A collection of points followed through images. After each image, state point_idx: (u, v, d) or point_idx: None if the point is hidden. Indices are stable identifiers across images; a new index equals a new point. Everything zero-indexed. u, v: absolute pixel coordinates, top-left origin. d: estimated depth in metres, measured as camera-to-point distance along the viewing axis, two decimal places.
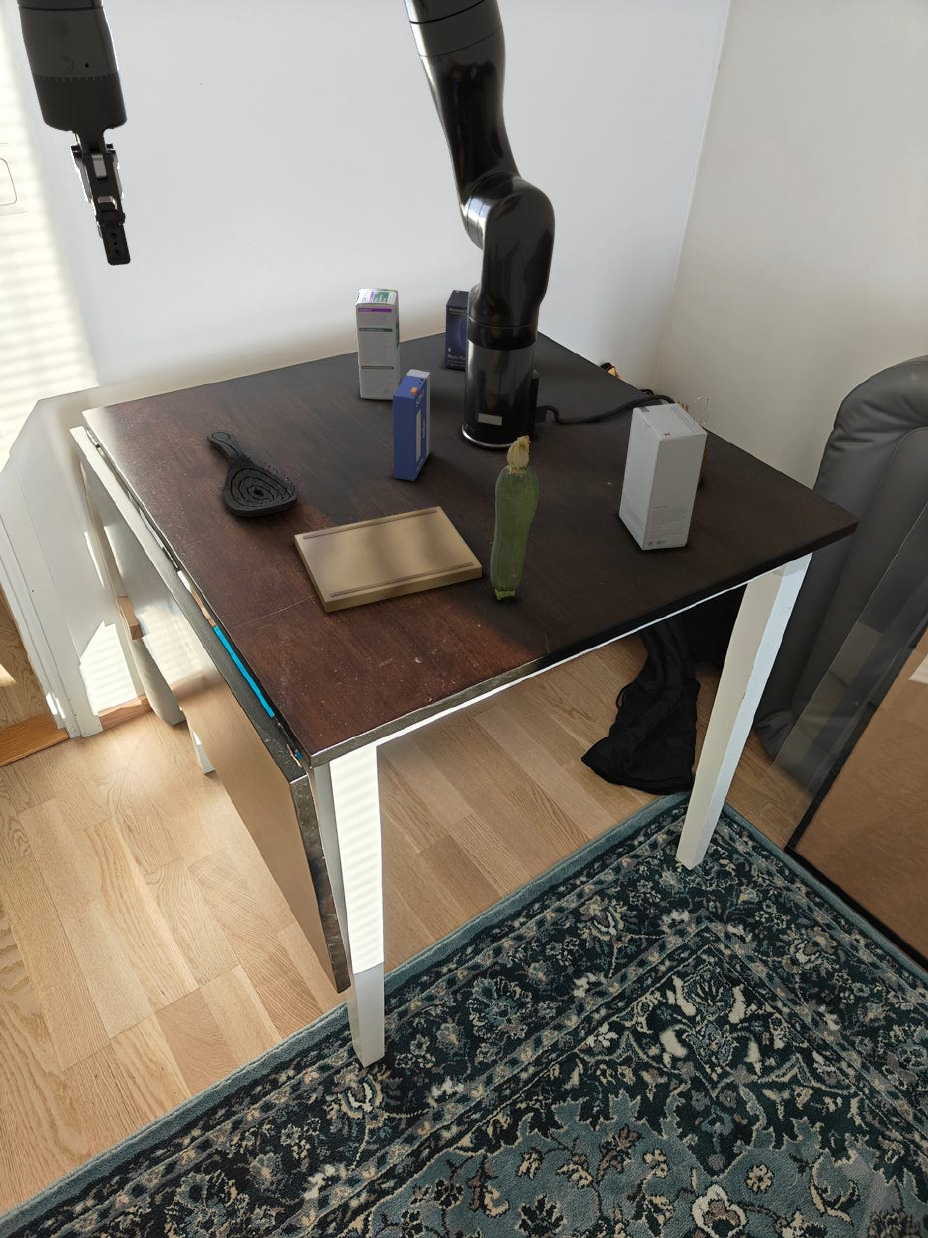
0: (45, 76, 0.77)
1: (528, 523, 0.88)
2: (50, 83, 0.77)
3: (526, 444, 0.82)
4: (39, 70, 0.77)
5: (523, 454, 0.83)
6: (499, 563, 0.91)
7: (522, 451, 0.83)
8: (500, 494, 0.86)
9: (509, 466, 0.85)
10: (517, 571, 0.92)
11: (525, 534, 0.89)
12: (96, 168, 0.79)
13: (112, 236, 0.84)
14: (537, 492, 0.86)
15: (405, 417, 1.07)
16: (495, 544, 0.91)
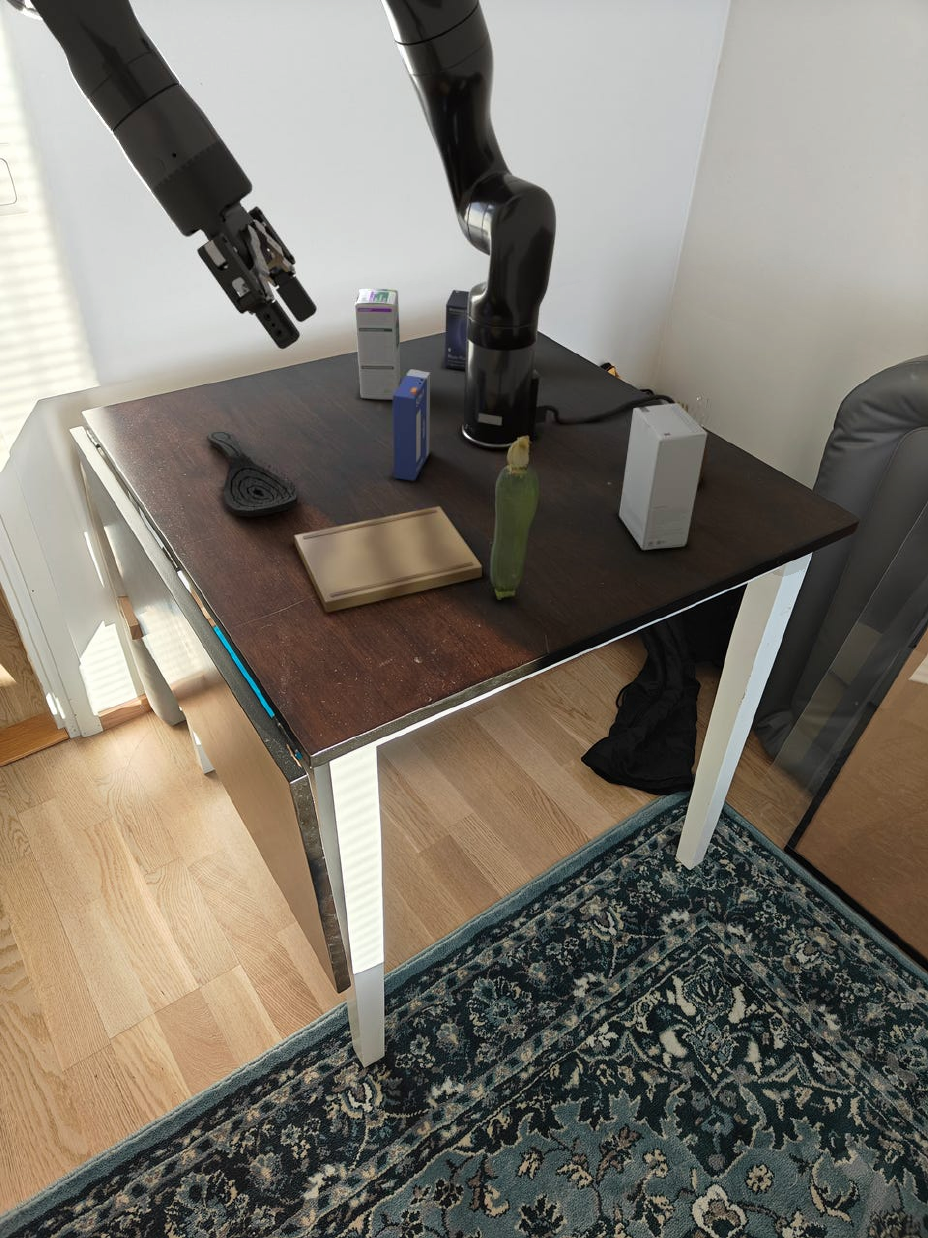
0: (153, 189, 0.72)
1: (528, 523, 0.88)
2: (158, 193, 0.72)
3: (526, 444, 0.82)
4: (148, 186, 0.72)
5: (523, 454, 0.83)
6: (499, 563, 0.91)
7: (522, 451, 0.83)
8: (501, 494, 0.86)
9: (509, 466, 0.85)
10: (517, 571, 0.92)
11: (525, 534, 0.89)
12: (212, 257, 0.71)
13: (268, 319, 0.75)
14: (537, 492, 0.86)
15: (405, 417, 1.07)
16: (495, 544, 0.91)
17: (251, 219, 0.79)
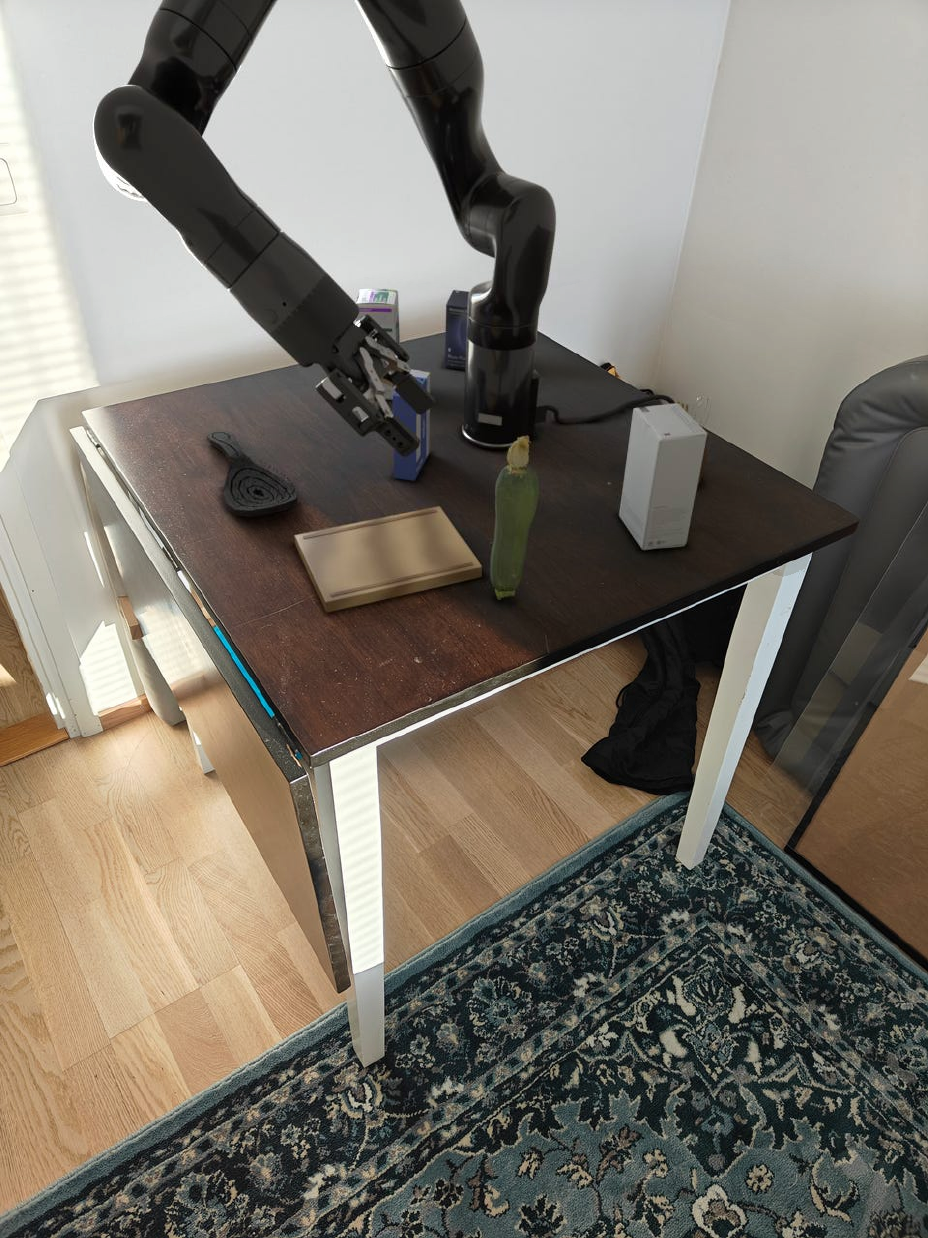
0: (270, 333, 0.77)
1: (528, 523, 0.88)
2: (275, 337, 0.77)
3: (526, 444, 0.82)
4: None
5: (523, 454, 0.83)
6: (499, 563, 0.91)
7: (522, 451, 0.83)
8: (500, 494, 0.86)
9: (509, 466, 0.85)
10: (517, 571, 0.92)
11: (525, 534, 0.89)
12: (330, 392, 0.75)
13: (388, 434, 0.79)
14: (537, 492, 0.86)
15: (405, 417, 1.07)
16: (495, 544, 0.91)
17: (362, 333, 0.82)
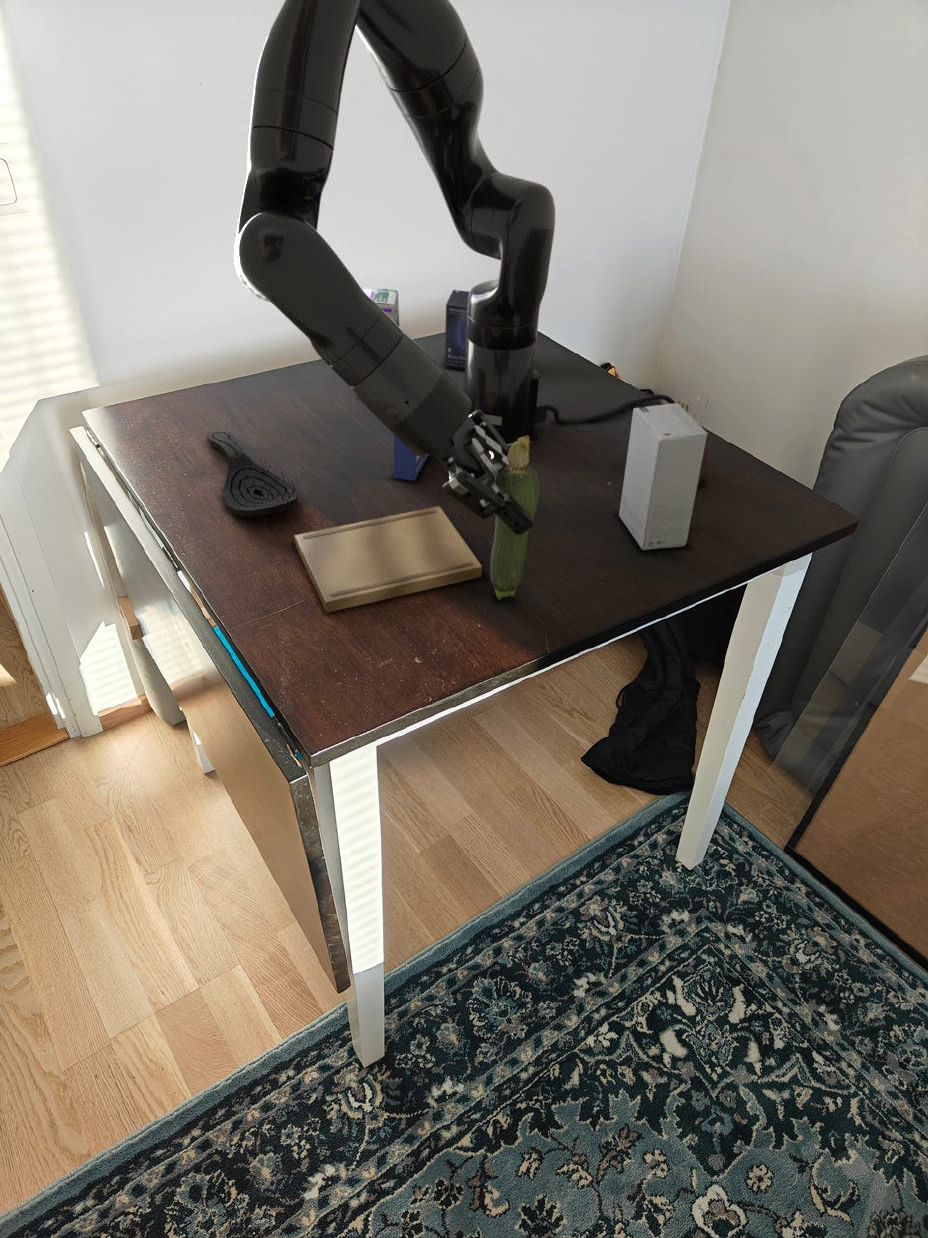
0: (389, 427, 0.81)
1: None
2: (394, 430, 0.81)
3: (526, 444, 0.82)
4: (384, 424, 0.82)
5: (523, 454, 0.83)
6: (499, 563, 0.91)
7: (522, 451, 0.83)
8: None
9: (509, 466, 0.85)
10: (517, 571, 0.92)
11: (525, 534, 0.89)
12: (459, 492, 0.80)
13: (506, 515, 0.85)
14: (537, 492, 0.86)
15: None
16: (495, 544, 0.91)
17: (470, 421, 0.86)
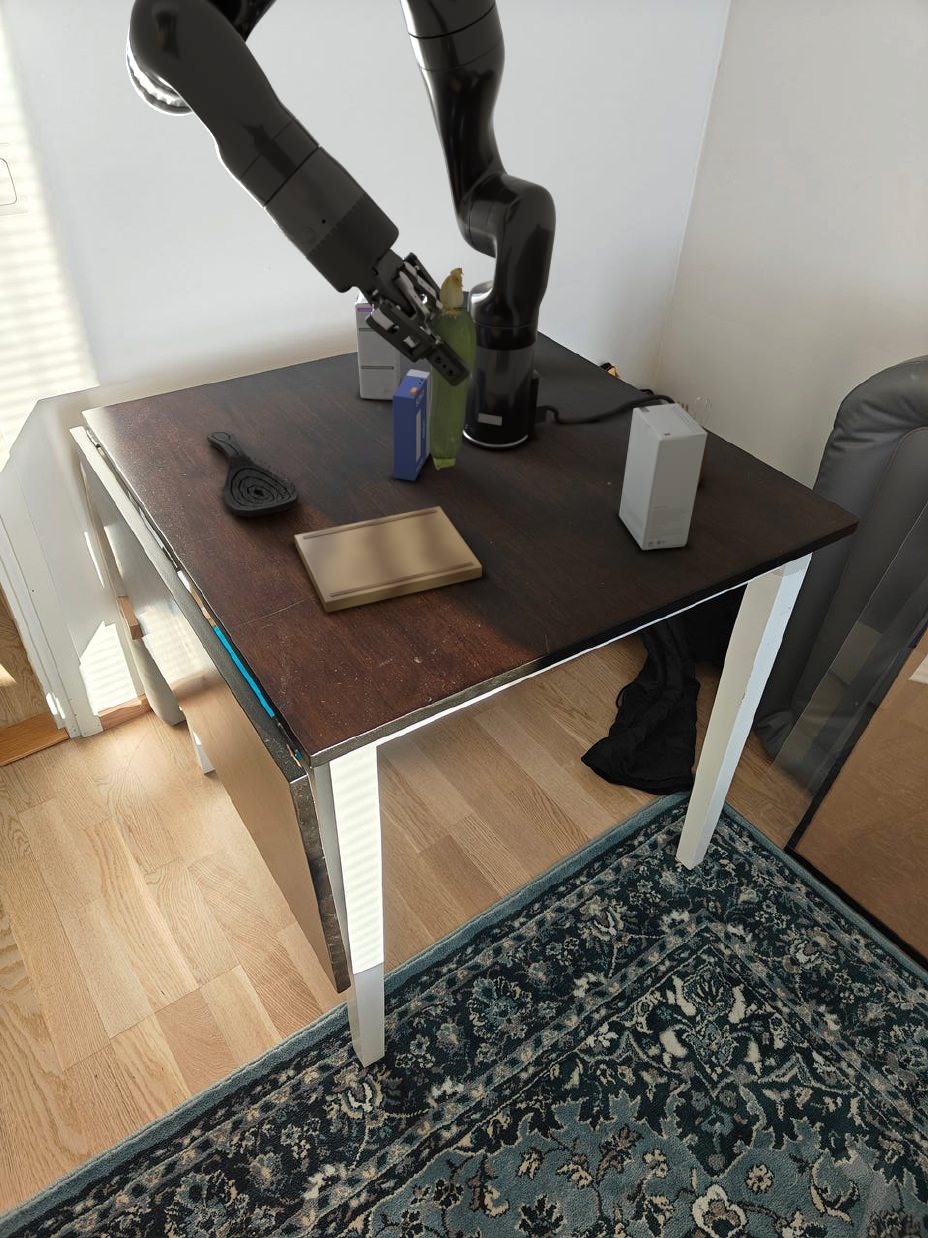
0: (307, 255, 0.74)
1: None
2: (312, 259, 0.74)
3: (459, 276, 0.74)
4: (302, 253, 0.74)
5: (457, 290, 0.76)
6: (435, 425, 0.84)
7: (455, 287, 0.76)
8: None
9: (443, 307, 0.78)
10: (455, 435, 0.84)
11: (463, 390, 0.82)
12: (383, 325, 0.73)
13: (439, 361, 0.78)
14: (474, 338, 0.79)
15: (405, 417, 1.07)
16: (431, 403, 0.84)
17: (400, 260, 0.79)
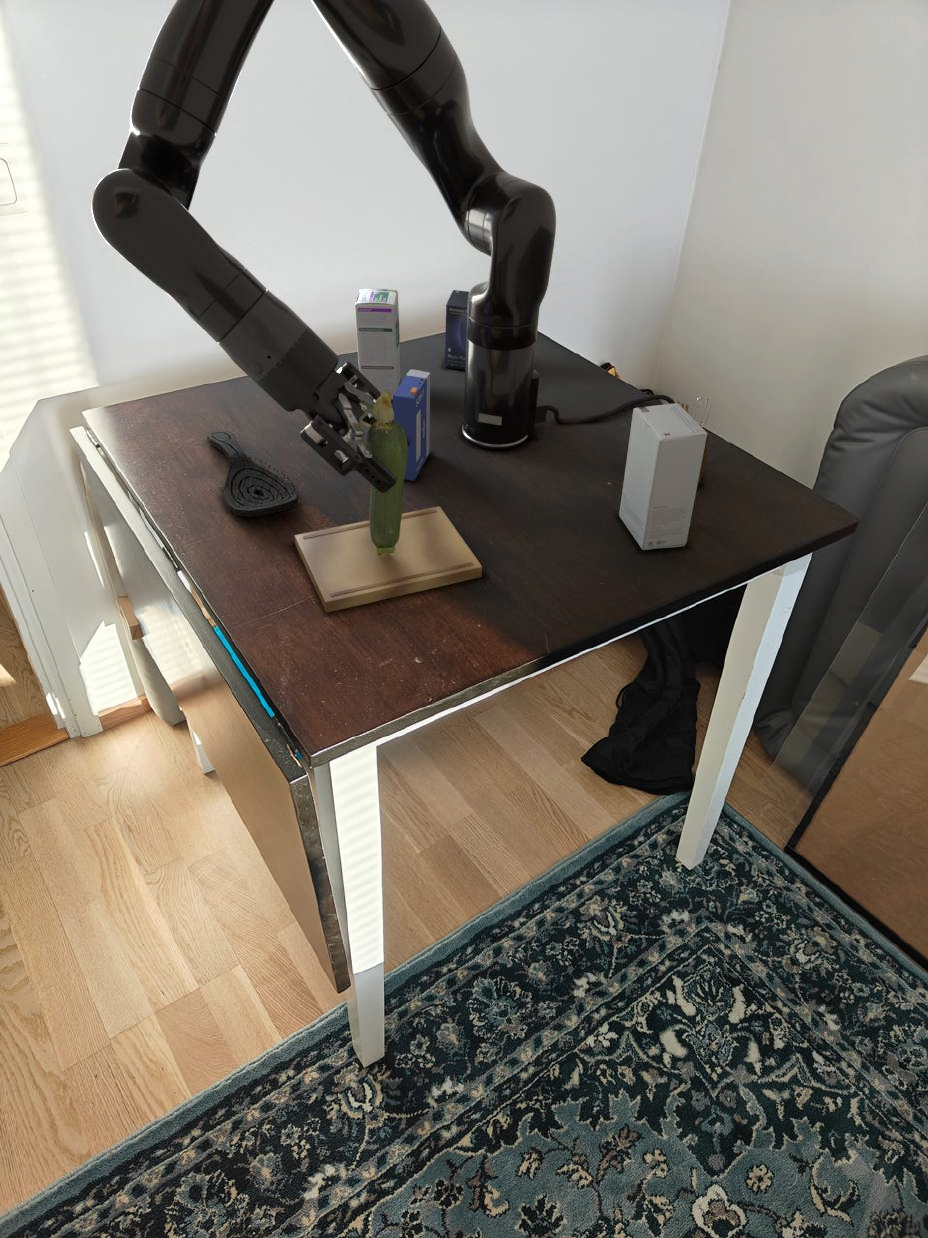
0: (256, 382, 0.84)
1: (399, 479, 0.91)
2: (261, 385, 0.84)
3: (387, 399, 0.84)
4: (252, 379, 0.84)
5: (387, 409, 0.86)
6: (375, 519, 0.94)
7: (385, 406, 0.86)
8: (369, 450, 0.88)
9: (376, 422, 0.88)
10: (393, 528, 0.95)
11: (398, 490, 0.92)
12: (313, 438, 0.82)
13: (367, 472, 0.86)
14: (405, 448, 0.89)
15: (405, 417, 1.07)
16: (371, 501, 0.94)
17: (342, 379, 0.89)
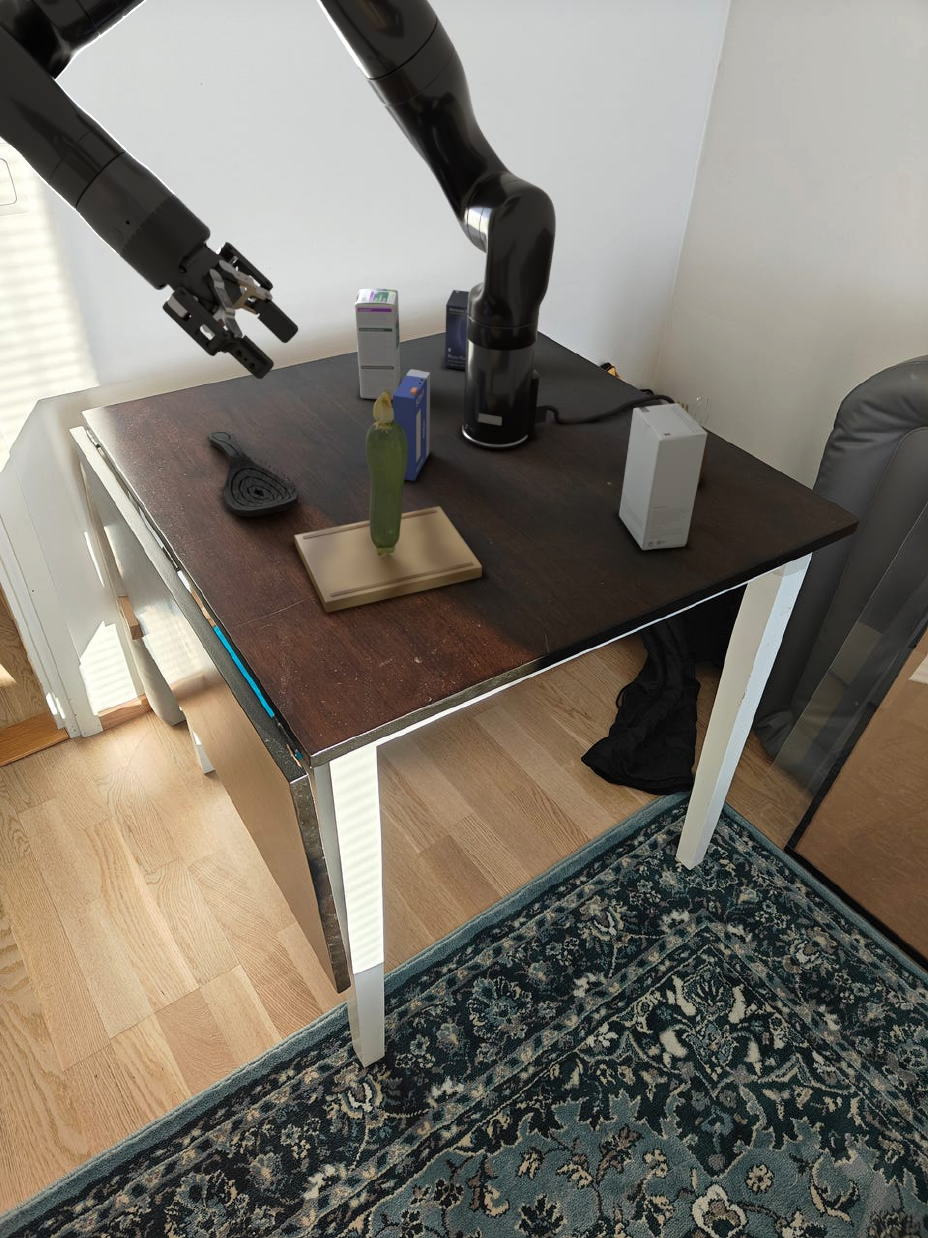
0: (120, 254, 0.78)
1: (399, 479, 0.91)
2: (124, 258, 0.78)
3: (387, 399, 0.84)
4: (116, 252, 0.79)
5: (387, 409, 0.86)
6: (375, 519, 0.94)
7: (385, 406, 0.86)
8: (369, 450, 0.88)
9: (376, 422, 0.88)
10: (393, 528, 0.95)
11: (398, 490, 0.92)
12: (176, 310, 0.77)
13: (240, 354, 0.80)
14: (405, 448, 0.89)
15: (405, 417, 1.07)
16: (371, 501, 0.94)
17: (219, 258, 0.83)
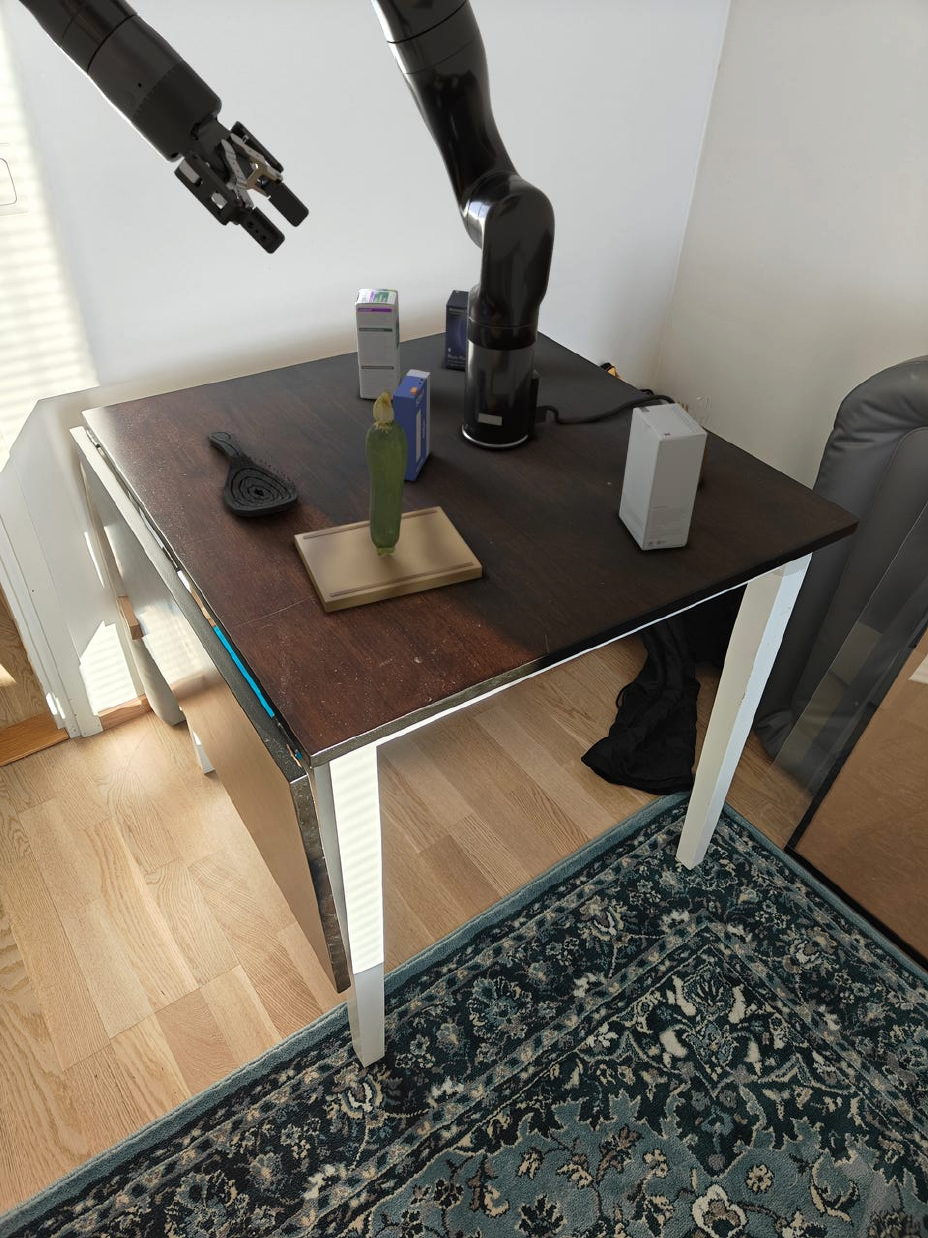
0: (131, 122, 0.78)
1: (399, 479, 0.91)
2: (136, 125, 0.78)
3: (387, 399, 0.84)
4: (127, 120, 0.79)
5: (387, 409, 0.86)
6: (375, 519, 0.94)
7: (385, 406, 0.86)
8: (369, 450, 0.88)
9: (376, 422, 0.88)
10: (393, 528, 0.95)
11: (398, 490, 0.92)
12: (187, 175, 0.76)
13: (251, 226, 0.80)
14: (405, 448, 0.89)
15: (405, 417, 1.07)
16: (371, 501, 0.94)
17: (230, 134, 0.83)
